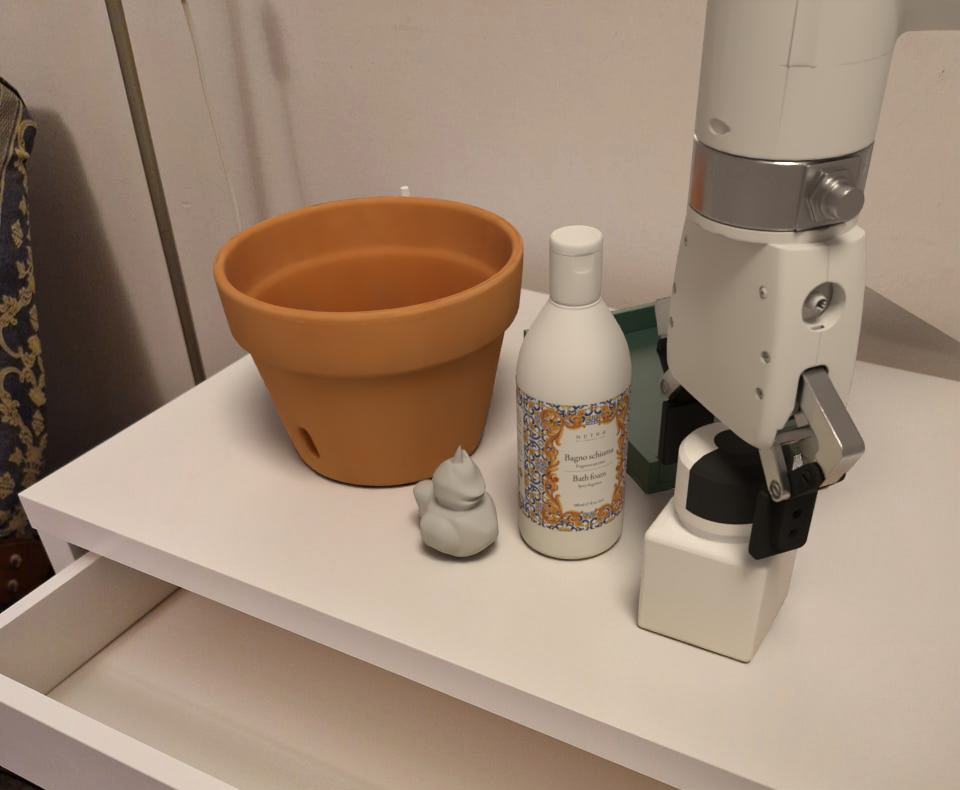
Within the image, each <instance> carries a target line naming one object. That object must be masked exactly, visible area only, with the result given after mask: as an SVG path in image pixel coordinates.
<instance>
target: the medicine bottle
mask: <svg viewBox="0 0 960 790" xmlns="http://www.w3.org/2000/svg"><path fill="white" fill-rule="evenodd" d="M781 447H782V451H783V455H784V460H785V464H786V468H787V472H790V471H792V470H793V468H794V462H795V455H794V454H793V451H792V449H791V447H790V446H789V445H788V444H786V445H783V446H781ZM765 489H768V487H767V483H766V479H765V475H764V471H763V467H762V463H761V459H760V455H759V450H758V448H757V447H754V446H752V445H751V444H749V443H747V442H746V441H744V440H743V439H742V438H740V437H739V436H738V435H736V434H735V433H734V432H733V431H732V430H731V429H729V428H728V427H727V426H726V425H725V424H724V423H722V422H718V423H713V424H709V425H705V426H703V427H700V428H698V429H696V430H695V431H693V432H692V433H691V434H689V435H688V436H687V437H686V438H685V439H684V440H683V441H682V443H681V445H680V448H679V454H678V464H677V474H676V484H675V487H674V495H672V497H671V498H670V500H668V502H667V504H666V505H665V506H664V507H663V509H662V510H661V511H660V513H659V514H658V515H657V516H656V518H655V519H654V521H653V522H652V524H651V525H650V526H649V527H648V529H647V530H646V532H644V536H643V547H642V549H643V550H642V560H641V571H640V573H641V575H640V586H639V599H638V609H637V610H638V612H637V625H638V626H639V627H640V628H642V629H645V630H648V631H651V632H654V633H656V634H660V635H663V636H666V637H668V638H672V639H675V640H678V641H681V642H684V643H687V644H690V645H693V646H695V647H699V648H701V649H704V650H706V651H707V650H708V651H710V652H713V653H716V654H720V655H723V656H726V657H729V658H731V659H735V660H738V661H741V662H744V663H748V662H749V663H750V662H751V661H752V659H753V658H754V656H755V654H756V652H757V651H758V649H759V647H760V646H761V644H762V642H763V640H764V639H765V636H766V635H767V632H768V631H769V629H770V627H771V626H772V624H773V623H774V620H775V619H776V616H777V614H778V612H779V611H780V609H781V607H782V606H783V604H784V602H785V600H786V599H787V597H788V595H789V591H790V587H791V586H790V585H791V581H792V576H793V572H794V567H795V561H796V558H797V553H798V549H795V550H791V551H788V552H784V553H781V554H777V555H774V556H770V557H767V558H763V559H760V560H755V559H754V558H753V557H752V556H751V555H750V554H749V552H748V549H749V548H748V546H749V541H750V535H751V529H752V524H753V518H754V512H755V507H756V501H757V496H758V493H759V492H760V491H762V490H765Z"/></svg>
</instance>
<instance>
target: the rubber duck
mask: <svg viewBox="0 0 960 790" xmlns="http://www.w3.org/2000/svg"><path fill="white" fill-rule="evenodd" d="M431 478H432V480H431V479H424V480H420V481H417V482H416V484H415V485H414V486H413V488H412V492H413V494H412V495H413V497H414V499H415V501H416V505H417V508H418V515H419V517H420V521H419V532H420V537H421V539H422V541H423V542H424V544H425V545H427V546H429V547H431V548H432V549H435V550H436V551H438V552H440V553H443V554H448V555H450V556H453V557H457V558H466V557H470V556H473V555H476V554H478V553H480V552H482V551H483V550H485V549H486V548H488V547H489V546H490V545H491V544H493V543H494V542H495V541H496V540H497V539H498V537H499V530H500V529H499V520H498V515H497V514H498V513H497V508H496V504H495V501H494V499H493V497H492V496H491V494H490V493H489V492H488V491H486V487H487V486H486V482H485V479H484V476H483V474H482V471H481V469H480V467H479V466H478V465H477V464H476V462H475V461H474V460H473V459H472V458H471V457H470V455H468V454H467V452H466V451H465V450H464V449H463V450H462V449H461V446H459V447H458V449H457V451H456V453H455V455H454V457H452V458H450V459H447V460H446V461H444V462H443V463H442V464H440V466H439V467H438V468H437V469H436V470H435V472H434V474H433V477H431Z"/></svg>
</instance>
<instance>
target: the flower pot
mask: <svg viewBox="0 0 960 790" xmlns="http://www.w3.org/2000/svg"><path fill="white" fill-rule="evenodd" d="M524 249H525V248H524V241H523V238H522V235H521V233H520V232H519V231H518V229H517V227H515V226H514V225H513V224H512V223H511V222H510V221H508V220H507V219H506V218H504V217H502V216H500V215H498V214H496V213H494V212H492V211H489V210H487V209H484V208H482V207H479V206H475V205H472V204H468V203H464V202H460V201H455V200H449V199H441V198H433V197H421V196H411V197H400V195H397V196H395V195H393V196H392V195H391V196H390V195H388V196H386V195H385V196H382V195H381V196H368V197H356V198H354V197H353V198H348V199H347V198H346V199H339V200H332V201H326V202H321V203H317V204H311V205H307V206H303V207H300V208H296V209H292V210H289V211H286V212H284V213H280V214H278V215H274V216H272V217H270V218H267V219H265V220H262V221H260V222H257V223H255V224H253V225H251V226H249V227H247V228H245V229H244V230H242V231H240V232H238V233H236V234H235V235H234V236H232V237H230V238H229V239H228V240H227V241H226V242H225V243H224V244H223V245H222V246H221V247H220V249H219V250H218V252H217V253H216V255H215V257H214V259H213V263H212V274H213V280H214V283H215V285H216V289H217V292H218V296H219V299H220V302H221V305H222V309H223V312H224V316H225V318H226V322H227V324H228V328H229V332H230V334H231V336H232V337H233V339H234V340H235V342H236V343H237V345H238V346H240V348H242V350H243V351H245V352H247V353H248V354H250V356H251V358H252V360H253V363H254V364H255V366H256V369H257V371H258V373H259V375H260V377H261V379H262V381H263V384H264V386H265V388H266V389H267V392H268V394H269V397H270V398H271V400H272V402H273V405H274V406H275V408H276V411H277V413H278V415H279V417H280V419H281V421H282V424H283V425H284V428H285V430H286V432H287V434H288V437H290V440H291V441H292V444H293V445H294V448H295V449H296V451H297V453H298V455H299V456H300V458H301V459H302V460H303V462H304V463H305V464H306V465H308V467H310V468H311V469H312V470H314V471H315V472H317V473H318V474H320V475H323V476H324V477H327V478H329V479H331V480H333V481H334V480H335V481H337V482H343V483H346V484H351V485H358V486H369V487H371V486H372V487H373V486H374V487H384V486H385V487H386V486H399V485H404V484H411V483H417V482H420V481H423V480H429V479H431V478H433V474H434V472H435V470H436V469H437V468H438V467H439V466H440V464H442V463H443V462H444V461H446V460H447V459H450V458H452V457H454V455H455V453H456V451H457V449H458V447H459V446H461V449H462V450H463V449H464V450H465V451H466V452H467V454H468V455H469V456H470V455H472V454H473V452H474V451H475V450H476V449H477V447H478V445H479V444H480V441H481V439H482V436H483V433H484V430H485V427H486V425H487V422H488V417H489V412H490V408H491V403H492V398H493V394H494V388H495V382H496V378H497V371H498V366H499V362H500V356H501V352H502V347H503V341H504V337H505V335H506V331H507V330H508V329H509V328H510V327H511V325H512V324H513V323H514V322H515V319H516V317H517V315H518V312H519V309H520V304H521V303H520V302H521V294H522V286H523V272H524V271H523V270H524Z"/></svg>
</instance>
